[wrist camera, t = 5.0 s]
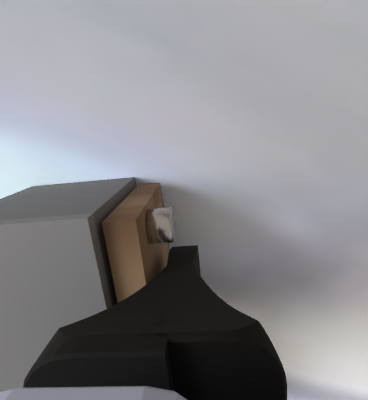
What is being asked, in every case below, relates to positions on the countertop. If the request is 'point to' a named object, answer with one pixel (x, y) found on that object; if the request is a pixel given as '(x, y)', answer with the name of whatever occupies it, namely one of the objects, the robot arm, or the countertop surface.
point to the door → (138, 239)
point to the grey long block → (52, 266)
